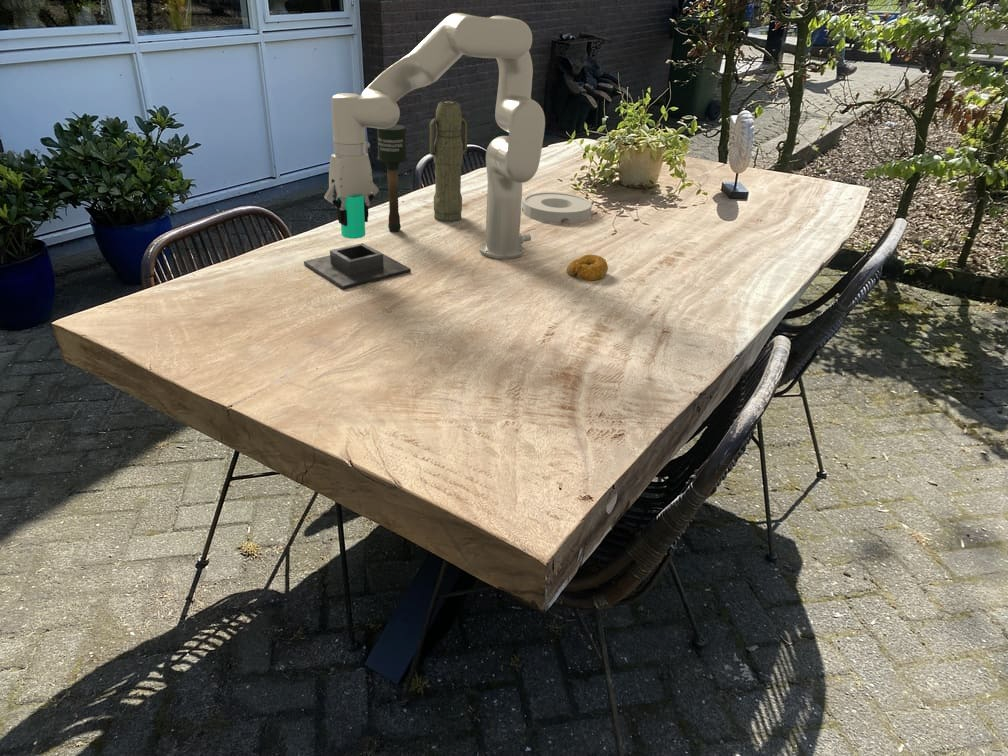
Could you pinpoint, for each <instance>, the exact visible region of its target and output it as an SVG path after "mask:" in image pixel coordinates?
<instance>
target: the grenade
mask: <svg viewBox="0 0 1008 756" xmlns="http://www.w3.org/2000/svg"><path fill="white" fill-rule="evenodd" d="M376 130H377V131H376V133H377V153H378V154H377V157H376V159H377V161H379V162H380V163H381V162H382V163H385V164H386V170H387V173H386V174H387V185H388V202H389V203H388V204H389V205H388V208H389V209H388V210H389V213H388V226H387V227H388V230H389V231H390V232H392V233H393V232H394V233H397V232H400V231H401V227H402V225H401V218H400V217H401V216H400V213H399V178H400V177H399V164H401V163H405V162H408V160H409V159H408V156H407V133H406V132H407V131H406V127H405V126H403V125H402V124H400V125H399V124H395V125H394V126H392V127H390V128H387V129H378V128H376Z"/></svg>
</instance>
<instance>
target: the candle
mask: <svg viewBox="0 0 1008 756" xmlns="http://www.w3.org/2000/svg"><path fill="white" fill-rule="evenodd" d="M340 202H341V199H340ZM345 203H346V205H345V209H344V210H347V226H344V225H342V224H340V227H341V228H340V229H341V230H340V231H341V236H342V237H343V238H346V239H351V240H352V239H354V240H356V239H360V238H364V237H365V236H366V222H365V213H364V195H362V196H358V197H347V198H345Z"/></svg>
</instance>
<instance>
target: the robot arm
mask: <svg viewBox="0 0 1008 756" xmlns="http://www.w3.org/2000/svg"><path fill="white" fill-rule="evenodd" d="M532 44H533V33H532V31H531V28H530V27H529V25H528V24H527V23H526V22H524V21H523V20H521V19H519V18H513V17H509V16H504V15H493V16H490V17H483V16H479V15H471V14H467V13H463V12H453V13H450V14H449V15H448V16H446V17H445V18H444V19H442V21H441V22H439V24H438V25H437V26H436V27H435V28H434V29H432V31H431V32H429V34H428V35H427V36H426V37H424V38H423V40H422V41H421V42H419V43H418V45H416V46H415V47H414V48H413V49H412V50H411V51H410V52H409V53H408V54H406V55H405V56H403V57H402V58H401V59H399V60H398V61H395V63H393V64H392V65H390V66H388V68H386V69H385V70H383V71H382V72H381V73H380V74H379V75H377V77H375V78H374V80H372V82H371V83H370V84H368V86H367V87H366V88H365V89H364V90H362V92H361V94H360V95H359V94H357V93H351V92H346V93H345V92H344V93H343V92H342V93H336V94H334V95H333V96H331V97H332V98H331V101H330V102H331V103H330V104H331V119H332V120H331V122H332V136H333V137H332V138H333V153H332V154H331V156H330V160H329V168H328V189H327V191H326V192H325V194H324V197H323V198H324V199H325V200H327V201H328V202H329V203H331V204H332V205H333V206H334V208H336V211H337V221H338V223H339V224H340V225H341V224H342V225H344V226H347V210H344V209H345V205H346V203H345V198H347V197H358V196H362V195H364V213H365V223H368V221H369V220H368V219H369V207H370V205H371V202H372V201H373V199H374V197H375V196H376V195H377V193H379V192H380V190H379V188H378V187H377V185H376V184H375V183H374V182H373V174H372V173H373V171H372V167H371V160H370V157H369V154H368V153H367V149H368V148H369V149H370V147H371V144H370V142H369V141H366V128H370V129H371V128H372V129H373V128H374V129H377V128H378V129H387V128H390V127H392V126H394V125H397V123H398V122H399V119H400V116H401V115H400V114H401V111H400V107H399V105H398V104H397V102H398V101H399V100H400V99H401V98H403V97H404V96H405V95H407V94H409V93H410V92H412V91H414V90H416V89H420V88H424V87H427V86H430V85H432V84H434V83H435V82H437V81H438V80H439V79H440V78H441V77H442V76H443V75H444V74H445V73H446V72H447V71H448V70H449V69H450V68H451V67H452V66H453V65H454V64H455V63H456V62H457V61H459V59H460V58H462V56H467V57H473V58H481V59H483V58H484V59H496V61H497V66H498V85H497V95H496V101H495V102H496V103H495V109H494V110H495V111H494V112H495V113H494V117H495V118H494V119H495V122H496V125H497V126H498V127H500V129H502V130H503V131H504V132H507V133H508V135H501V136H497V137H495V138H494V139H492V140H491V141H490V143H489V144H488V146H487V148H486V152H485V166H486V167H485V168H486V173H487V174H486V177H487V197H486V214H485V215H486V217H485V242H483V243H482V244H481V245H480V246H479V252H480V253H481V255H484V256H485V257H487V258H491V259H497V260H510V259H511V260H513V259H516V258H519V257H520V258H521V256H523V255H524V253H525V248H524V247H523V246H522V244H524V243H525V242H530V241H532V235H531V234H529V233H528V234H527V233H526V234H524V235H522V233H521V232H520V231H521V216H522V215H521V214H522V199H523V183H527V182H528V181H530V180H532V179H533V177H534V176H535V175H536V174H537V172H538V169H539V166H540V161H541V155H542V149H543V142H544V137H545V128H546V116H545V112H544V109H543V108H542V107H541V105H540V104H539V102H537V101H535V100H534V99H532V88H533V74H534V73H533V72H534V69H533V60H532V56H531V53H530V49H531V48H532ZM334 196H336V198H334ZM340 199H341V202H340Z"/></svg>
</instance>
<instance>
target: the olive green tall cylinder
mask: <svg viewBox="0 0 1008 756" xmlns="http://www.w3.org/2000/svg"><path fill="white" fill-rule="evenodd" d="M428 125H429V128H428V129H429V131H428V132H429V135H428V136H429V137H428V138H429V140H428V141H429V155H431V156H433V162H434V165H435V167H434V169H435V175H434V176H435V177H434V178H435V185H434V186H435V187H434V189H435V191H434V192H435V193H434V196H433V210H434V211H433V212H434V215H433V218H434V220H436V221H438V222H443V223H444V222H445V223H456V222H458V221H460V220H462V210H463V196H462V193H461V185H462V184H461V183H462V180H461V179H462V176H461V175H462V164H463V160H464V154H465V153H466V152H467V151H468V122H467V120H466V119H465V118H463V117H462V109H461V105H460V103H459V102H457V101H455V100H441V101H440V102H438V104H437V107H436V110H435V117H434V118H432V119H430V122H429V124H428ZM435 130H436V133H435Z"/></svg>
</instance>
